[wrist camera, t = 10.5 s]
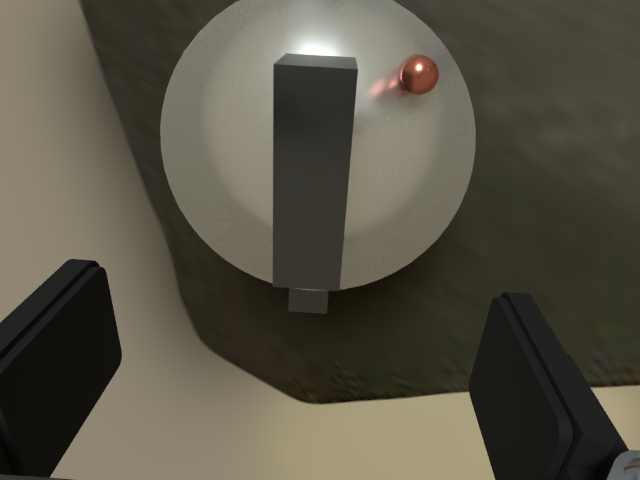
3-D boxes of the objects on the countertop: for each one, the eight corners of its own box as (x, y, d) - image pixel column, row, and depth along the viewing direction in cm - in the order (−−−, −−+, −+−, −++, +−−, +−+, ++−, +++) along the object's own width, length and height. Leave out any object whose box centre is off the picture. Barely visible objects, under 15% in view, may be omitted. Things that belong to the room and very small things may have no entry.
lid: (151, -28, 21) (91, -38, 16) (501, -8, 21) (551, -13, 16) (181, 270, 28) (147, 327, 23) (441, 288, 28) (461, 349, 23)
